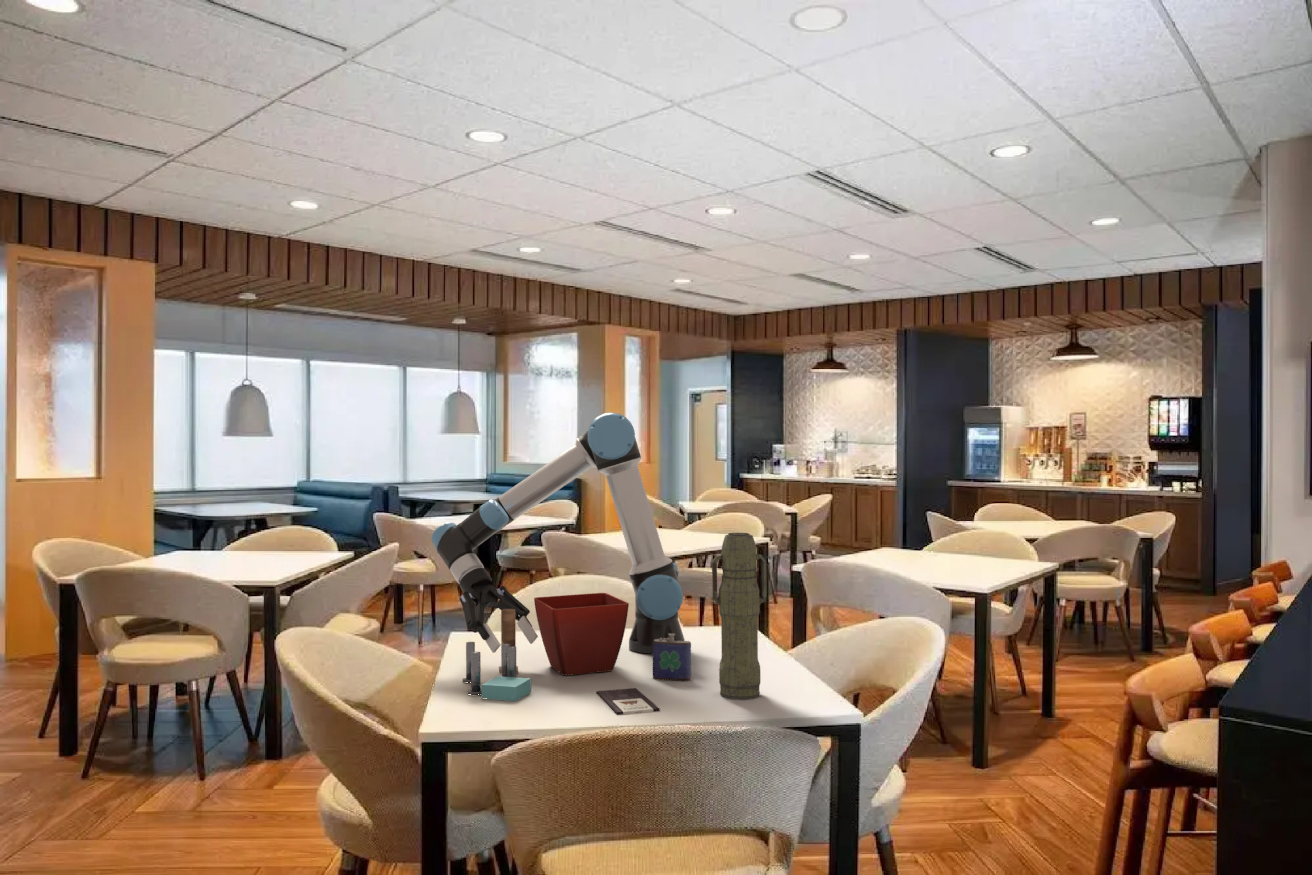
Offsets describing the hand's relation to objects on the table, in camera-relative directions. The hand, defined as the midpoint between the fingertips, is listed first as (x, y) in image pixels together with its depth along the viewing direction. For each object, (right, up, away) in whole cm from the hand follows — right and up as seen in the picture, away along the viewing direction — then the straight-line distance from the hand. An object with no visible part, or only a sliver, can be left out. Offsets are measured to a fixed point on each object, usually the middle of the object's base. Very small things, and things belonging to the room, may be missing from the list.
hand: (516, 644), depth 228 cm
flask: (+37, -7, -7) cm, 39 cm away
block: (+1, -7, -21) cm, 22 cm away
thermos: (+52, -6, -21) cm, 56 cm away
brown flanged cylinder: (-2, -7, +1) cm, 7 cm away
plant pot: (+15, -7, +5) cm, 17 cm away
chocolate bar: (+27, -7, -27) cm, 39 cm away
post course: (-5, -7, -14) cm, 17 cm away
